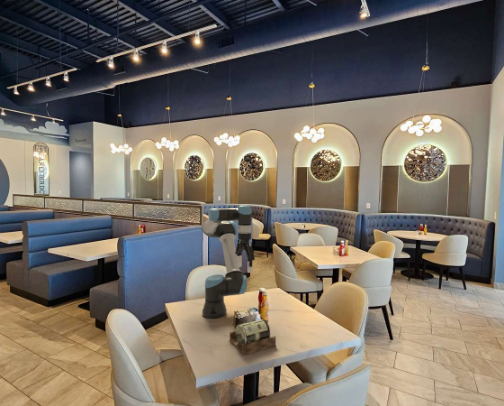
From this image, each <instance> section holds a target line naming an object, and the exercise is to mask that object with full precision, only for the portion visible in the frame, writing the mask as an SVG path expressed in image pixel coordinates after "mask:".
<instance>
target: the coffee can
mask: <svg viewBox="0 0 504 406" xmlns="http://www.w3.org/2000/svg"><path fill="white" fill-rule="evenodd" d="M235 331H236V338H237V341H238V343H239V345H240V346H241V347H242V345H243V344H246V343H250V342H254V341H258V340H262V339H265V338H269V337H271V329H270V325H269V323H268V322H267V320H266V319H265V318H261V319H256V320H253V321H249V322H245V323H242V324H237V326H236V328H235Z"/></svg>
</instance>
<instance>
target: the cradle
mask: <svg viewBox="0 0 504 406" xmlns="http://www.w3.org/2000/svg"><path fill="white" fill-rule="evenodd" d="M276 338H277V337H276V336H270V337H269V338H265V339H262V340H258V341H254V342H250V343H246V344H243V345H242V347H241V346H240V345H239V343H238V341H237V338H236V330H232V331H229V341H230V342H231V344H232V345H233V346H234V347H235V348H236V350H238V352H239V353H240V354H241V355H242V356H245V355H250V354H252V353H253V354H254V353H257V352H259V351H263V350H264V351H265V350H267V349H270V348H274V347H276V345H277V341H276Z"/></svg>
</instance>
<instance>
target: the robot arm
mask: <svg viewBox="0 0 504 406" xmlns="http://www.w3.org/2000/svg"><path fill="white" fill-rule="evenodd" d="M235 221H237V224H236V223H235ZM201 230H202V232H203V234H204V235H205V236H207V237H208V238H214V239H216V238H218V240H219V241H220V242H221V246H222V253H223V257H224V263H225V269H226V270H225V271H226V273H225V274H224V275H223V274H212V275H210V276H209V275H208V276H207V278H205V281H204V305H203V308H202V309H201V312H202V313H201V314H203V315H204V316H205V317H204V316H203V315H202V316H203V317H204V318H207V317H208V319H219V318H223V317H224V316H226V315H227V305H226V304H225V300H224V299H225V297H230V296H231V297H232V296H240V295H244V294H245V293H246V292H247V288H248V277H247V275H245V274H243V271H242V270H240V268H241V267H243V261H242V259H243V257H242V256H243V251H245V254H246V257H247V268H246V269H247V271H246V273H250V274H251V273H253V261H255V260H256V258H255V253H254V249H253V242H250V240H252V206H251V205H245V204H244V205H238V207H229V208H228V207H227V208H224V207H223V208H222V207H221V208H220V207H219V208H218V207H217V208H216V207H213V208H209V210H208V219H207V220H205V221H204V222H203V223H202V226H201ZM236 237H237V243H235V239H236ZM235 244H236V245H235Z"/></svg>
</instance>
